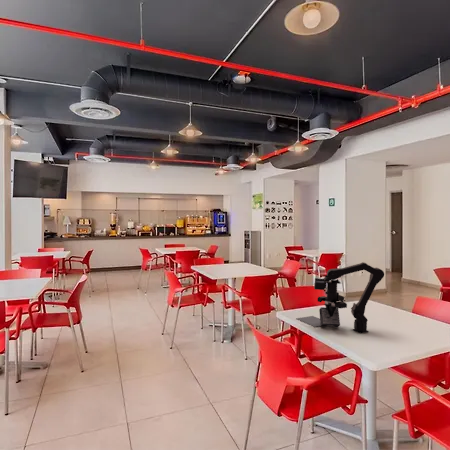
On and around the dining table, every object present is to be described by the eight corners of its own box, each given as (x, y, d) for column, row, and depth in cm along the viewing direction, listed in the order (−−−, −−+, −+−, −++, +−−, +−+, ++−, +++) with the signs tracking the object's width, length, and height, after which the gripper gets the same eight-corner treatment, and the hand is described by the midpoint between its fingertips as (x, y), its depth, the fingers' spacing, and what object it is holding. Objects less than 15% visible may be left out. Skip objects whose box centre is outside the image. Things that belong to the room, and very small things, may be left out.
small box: (337, 327, 200) (336, 309, 205) (340, 325, 194) (338, 307, 199) (320, 326, 201) (319, 309, 206) (322, 324, 195) (320, 307, 200)
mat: (332, 324, 205) (332, 323, 205) (314, 327, 199) (314, 326, 199) (312, 316, 222) (312, 315, 222) (296, 319, 215) (296, 318, 215)
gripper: (354, 292, 191) (353, 319, 192) (330, 286, 208) (330, 310, 208) (340, 294, 186) (339, 321, 187) (317, 287, 203) (316, 312, 203)
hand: (331, 316), depth 196 cm, fingers closed
